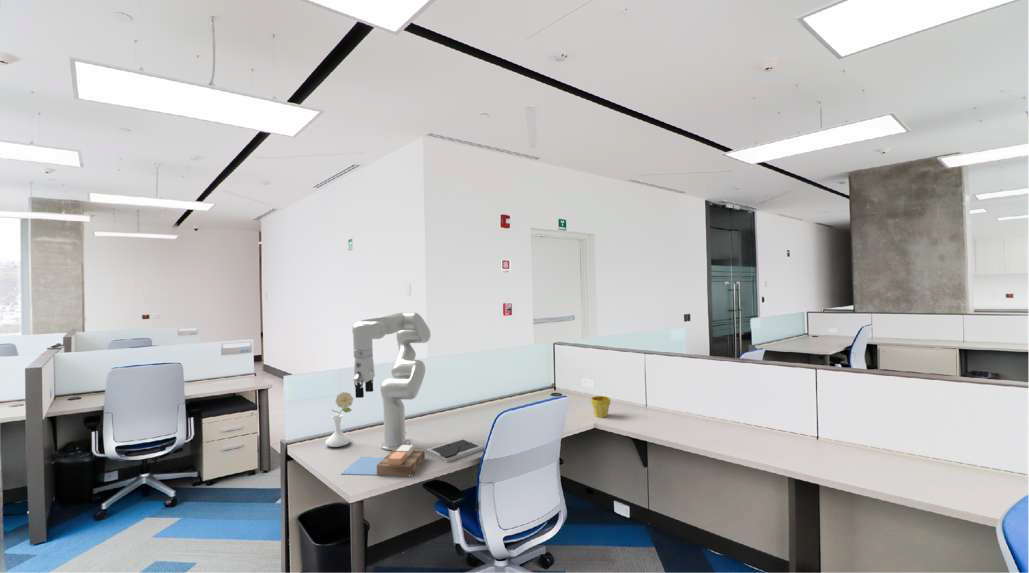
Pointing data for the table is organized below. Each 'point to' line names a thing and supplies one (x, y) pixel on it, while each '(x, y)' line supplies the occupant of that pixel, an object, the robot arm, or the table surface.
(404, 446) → the white rectangular block
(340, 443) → the flower in vase
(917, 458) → the table surface
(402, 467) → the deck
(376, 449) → the table surface
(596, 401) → the plant pot
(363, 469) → the mat
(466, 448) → the picture frame
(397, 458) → the orange rectangular block
